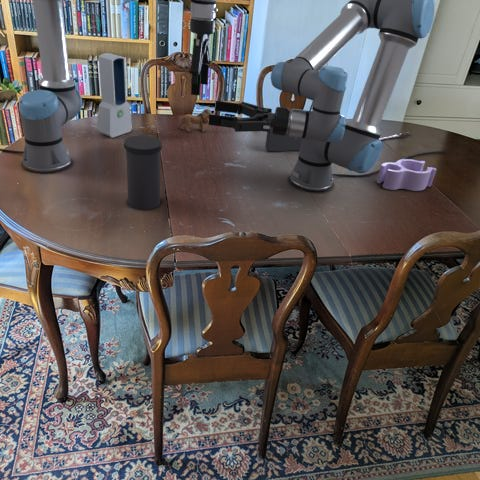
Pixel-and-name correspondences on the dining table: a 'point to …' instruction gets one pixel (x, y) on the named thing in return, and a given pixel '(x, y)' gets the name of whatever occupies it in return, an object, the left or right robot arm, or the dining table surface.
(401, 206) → the dining table surface
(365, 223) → the dining table surface
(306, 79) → the right robot arm
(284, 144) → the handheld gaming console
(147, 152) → the lid
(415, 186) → the clip
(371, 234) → the dining table surface
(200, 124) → the lion figurine
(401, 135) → the sword
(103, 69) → the electronic device
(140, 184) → the jar
